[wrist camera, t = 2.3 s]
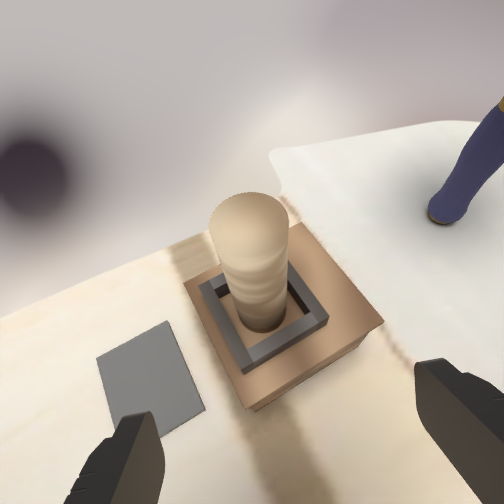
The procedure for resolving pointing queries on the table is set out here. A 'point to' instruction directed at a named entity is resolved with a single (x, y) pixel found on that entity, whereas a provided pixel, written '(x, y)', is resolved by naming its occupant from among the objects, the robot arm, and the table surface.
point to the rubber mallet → (471, 168)
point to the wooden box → (286, 323)
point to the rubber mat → (150, 380)
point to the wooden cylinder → (253, 257)
